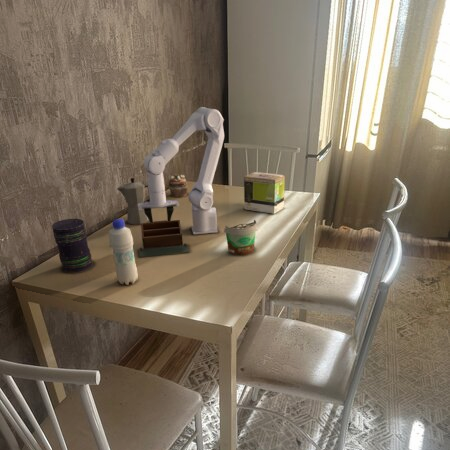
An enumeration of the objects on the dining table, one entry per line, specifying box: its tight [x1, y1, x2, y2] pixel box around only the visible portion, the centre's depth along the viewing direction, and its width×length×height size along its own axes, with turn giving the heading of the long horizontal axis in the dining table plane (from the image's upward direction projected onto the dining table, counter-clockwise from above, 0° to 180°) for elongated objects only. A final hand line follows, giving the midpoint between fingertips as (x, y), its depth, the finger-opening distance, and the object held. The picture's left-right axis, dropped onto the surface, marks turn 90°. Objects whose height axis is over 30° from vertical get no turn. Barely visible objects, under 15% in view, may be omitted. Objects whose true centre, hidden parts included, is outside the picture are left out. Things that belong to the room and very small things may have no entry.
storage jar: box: [51, 218, 94, 274], centre depth 134 cm, size 10×10×15 cm
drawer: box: [140, 219, 184, 249], centre depth 150 cm, size 5×14×11 cm
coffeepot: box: [116, 177, 150, 225], centre depth 170 cm, size 15×9×18 cm, turn 113°
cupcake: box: [168, 173, 189, 198], centre depth 203 cm, size 10×10×10 cm
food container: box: [223, 219, 259, 256], centre depth 141 cm, size 12×6×10 cm, turn 118°
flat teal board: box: [138, 242, 190, 258], centre depth 147 cm, size 7×17×1 cm, turn 100°
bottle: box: [108, 218, 139, 286], centre depth 123 cm, size 7×7×20 cm
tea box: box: [243, 171, 286, 215], centre depth 179 cm, size 15×10×15 cm
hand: (161, 226), depth 154 cm, fingers closed on drawer, 5 cm apart
